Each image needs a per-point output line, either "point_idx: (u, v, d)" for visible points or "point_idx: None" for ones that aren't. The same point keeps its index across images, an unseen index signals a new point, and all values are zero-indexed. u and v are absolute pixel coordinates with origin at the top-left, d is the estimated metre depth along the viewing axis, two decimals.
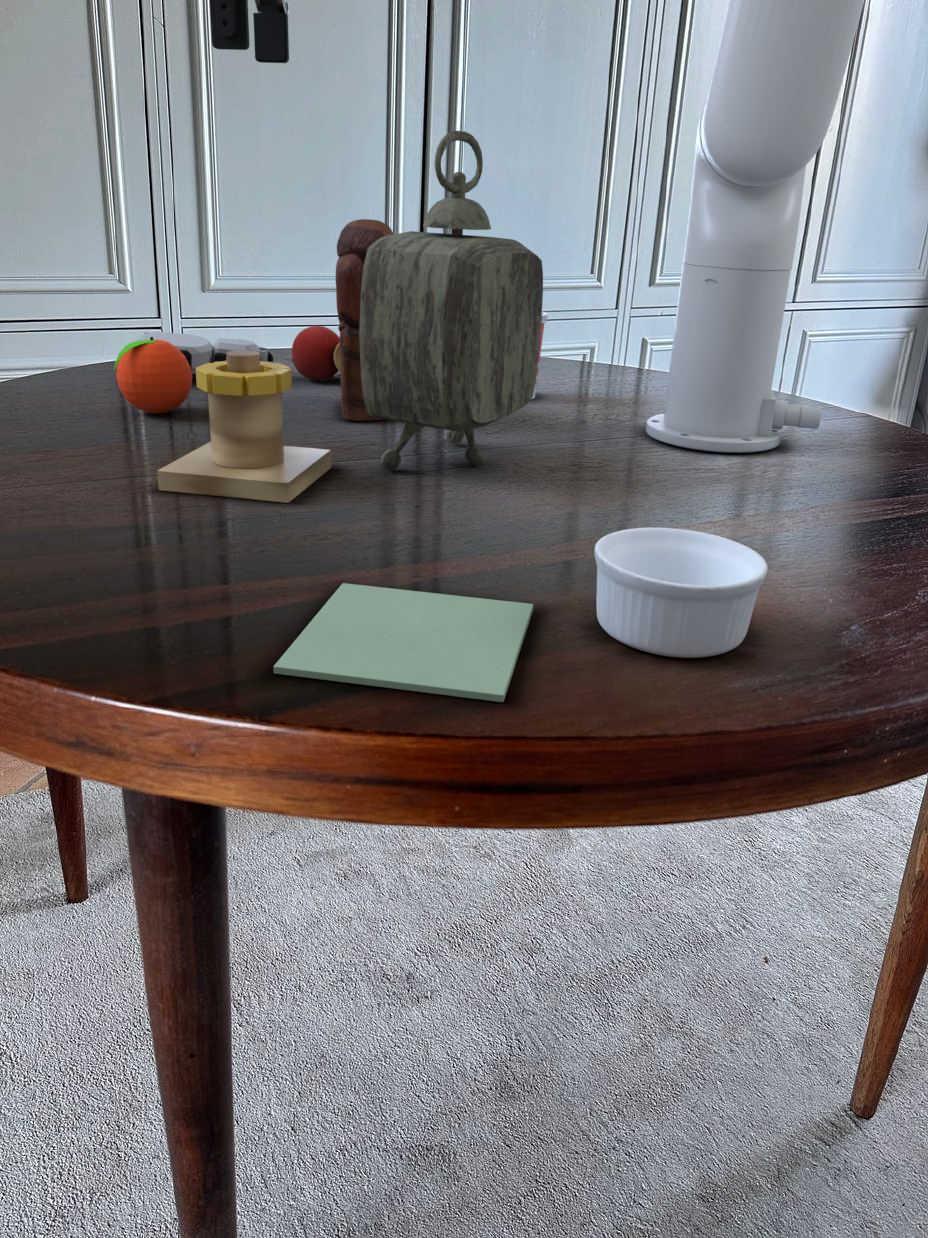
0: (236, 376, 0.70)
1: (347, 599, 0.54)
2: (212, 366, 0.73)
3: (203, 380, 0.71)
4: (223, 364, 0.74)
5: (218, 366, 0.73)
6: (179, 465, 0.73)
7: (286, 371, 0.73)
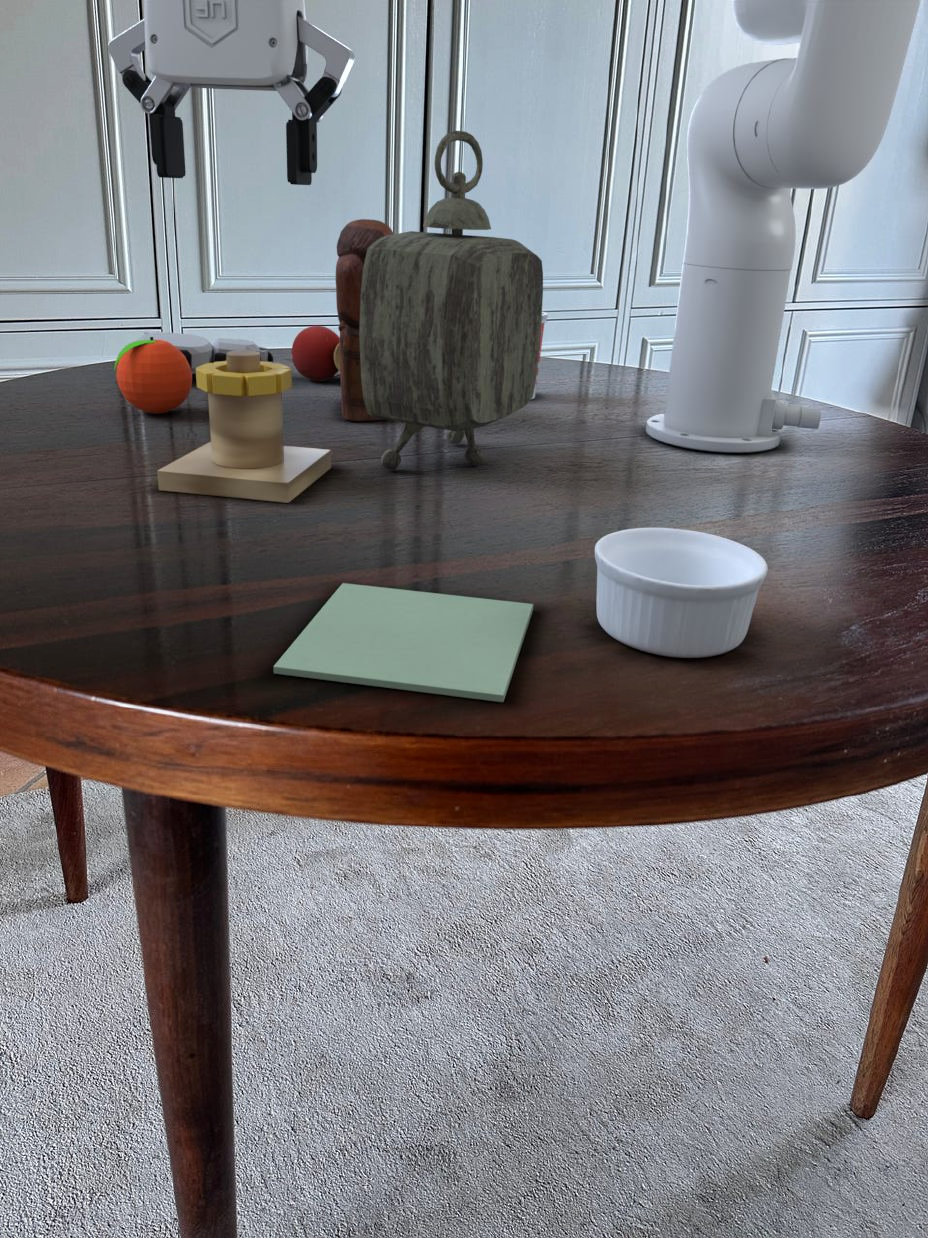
0: (236, 376, 0.70)
1: (347, 599, 0.54)
2: (212, 366, 0.73)
3: (203, 380, 0.71)
4: (223, 364, 0.74)
5: (218, 366, 0.73)
6: (179, 465, 0.73)
7: (286, 371, 0.73)
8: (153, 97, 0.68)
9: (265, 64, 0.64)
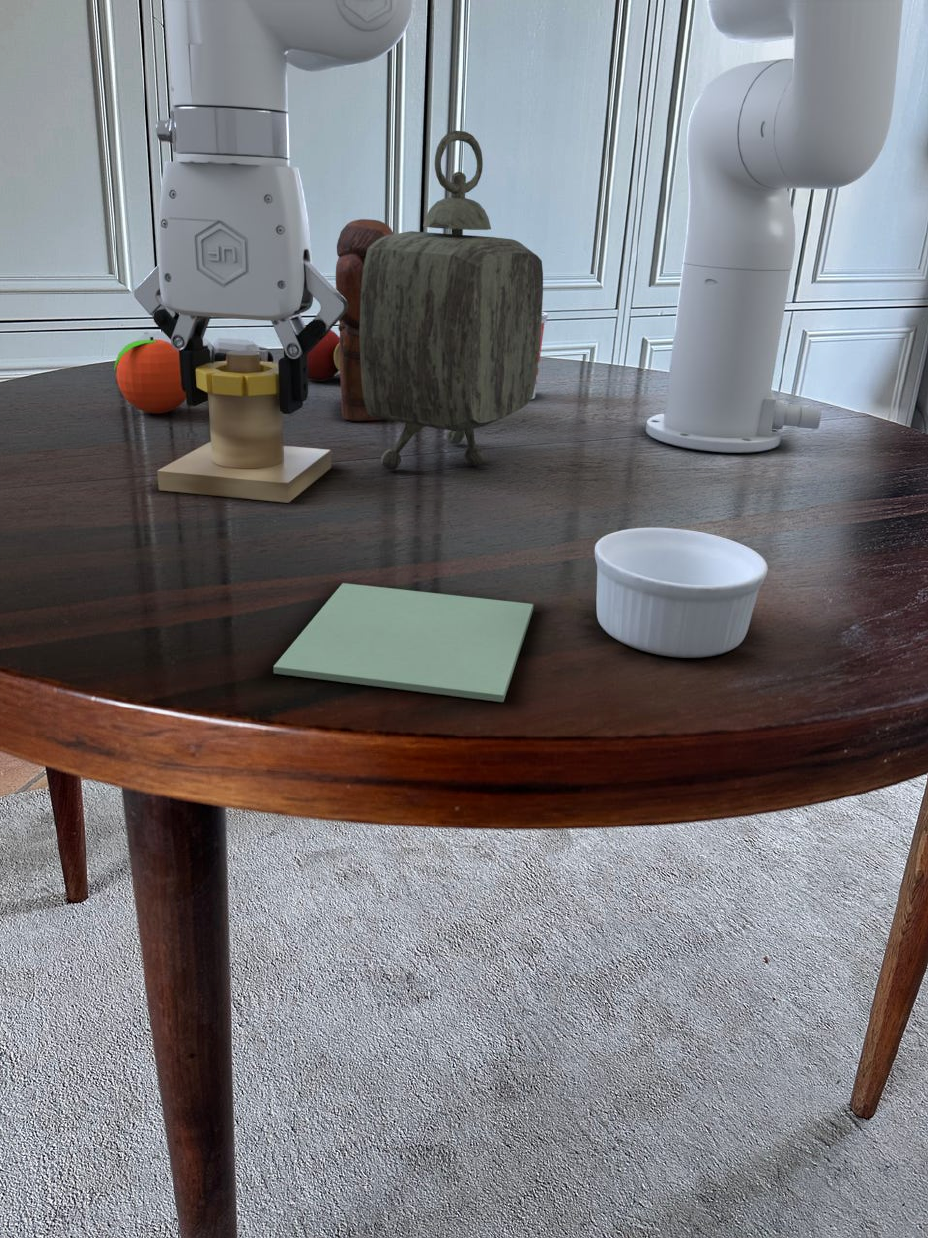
0: (236, 376, 0.70)
1: (347, 599, 0.54)
2: (212, 366, 0.73)
3: (203, 380, 0.71)
4: (223, 364, 0.74)
5: (218, 366, 0.73)
6: (179, 465, 0.73)
7: None
8: (182, 335, 0.71)
9: (274, 303, 0.68)
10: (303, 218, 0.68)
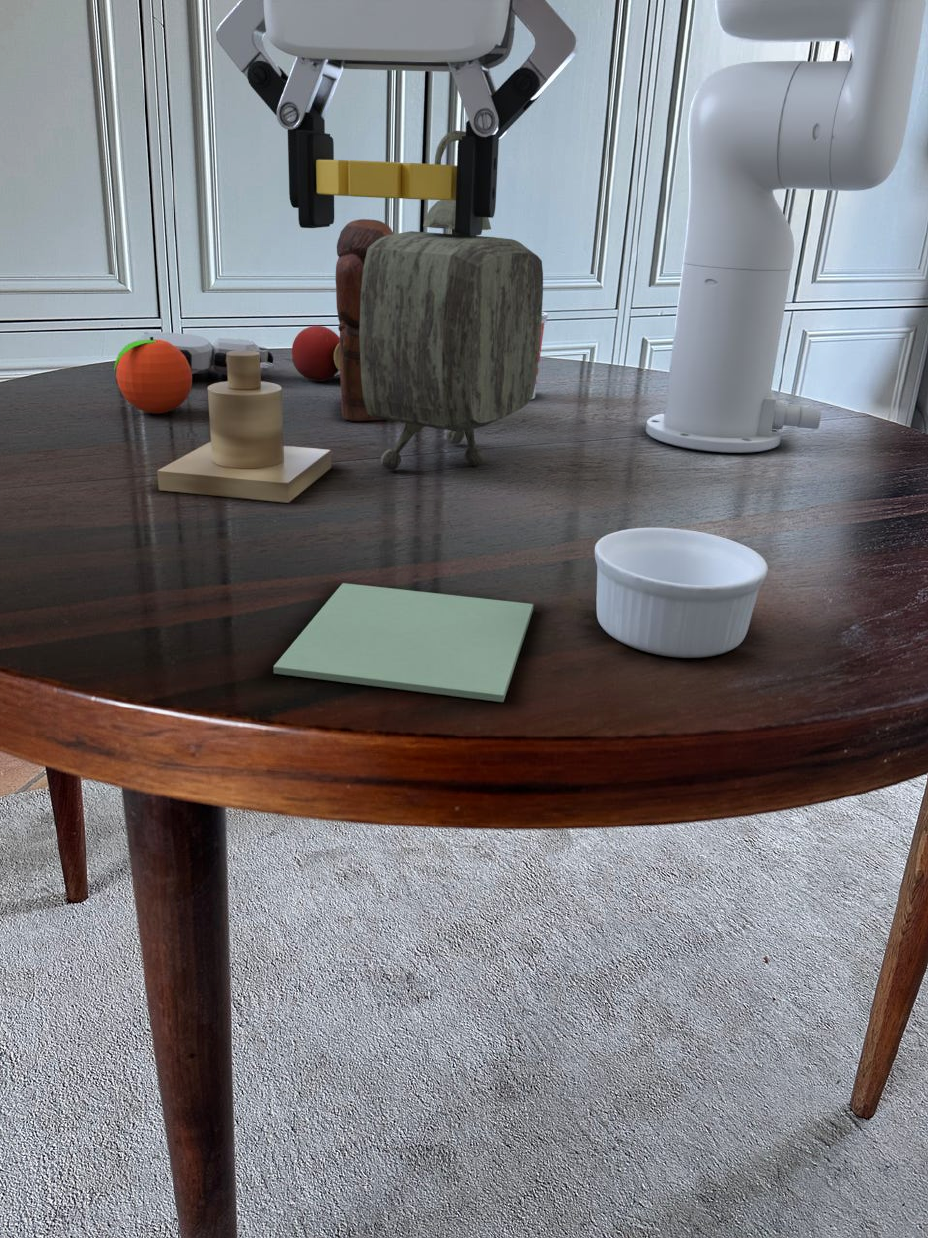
0: (390, 162, 0.42)
1: (347, 599, 0.54)
2: None
3: (331, 175, 0.43)
4: None
5: None
6: (179, 465, 0.73)
7: None
8: (295, 102, 0.43)
9: (464, 26, 0.39)
10: None
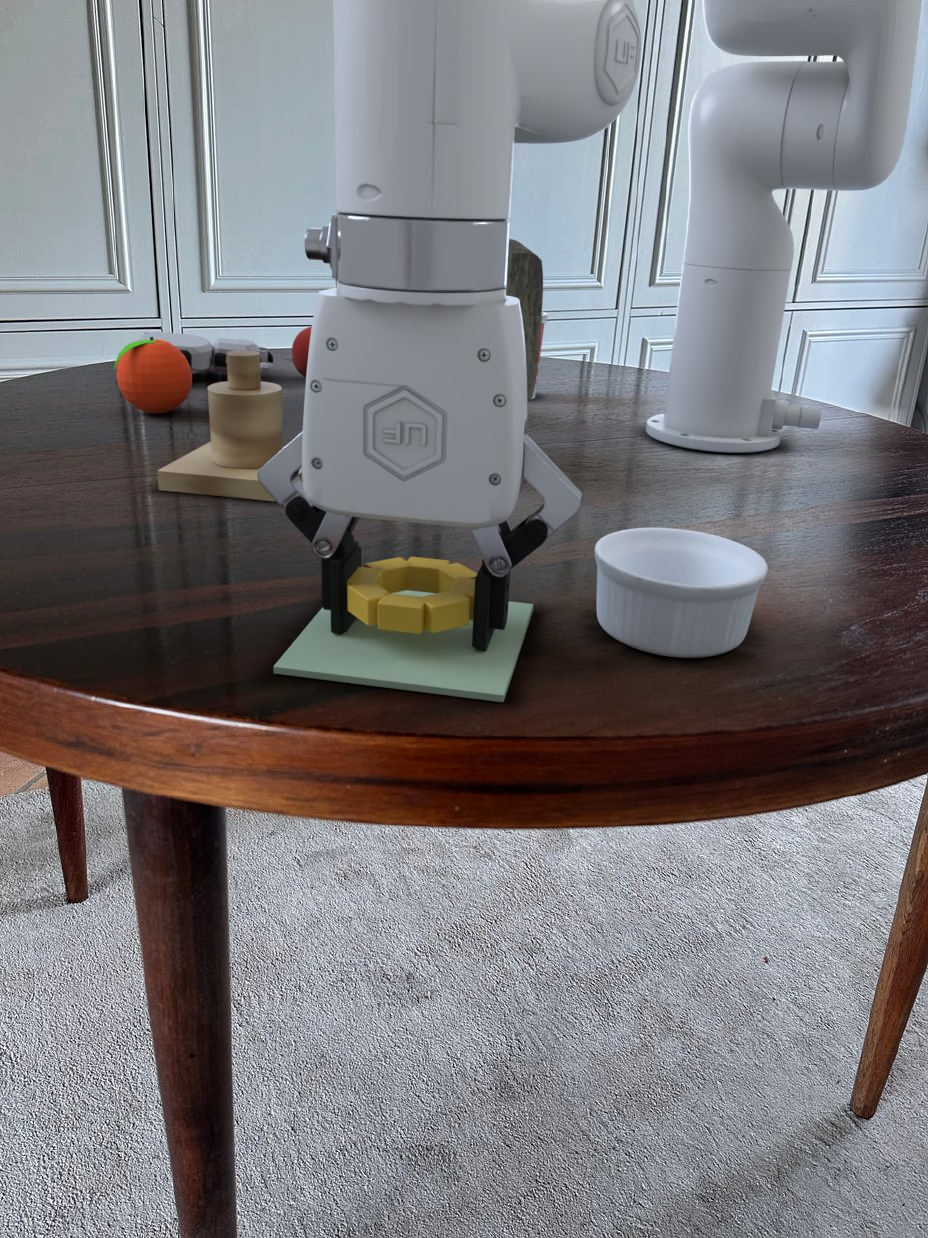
0: (415, 606, 0.47)
1: None
2: (369, 577, 0.50)
3: (361, 607, 0.48)
4: (381, 570, 0.51)
5: (377, 576, 0.50)
6: (179, 465, 0.73)
7: None
8: (329, 538, 0.48)
9: (481, 506, 0.44)
10: (525, 375, 0.45)
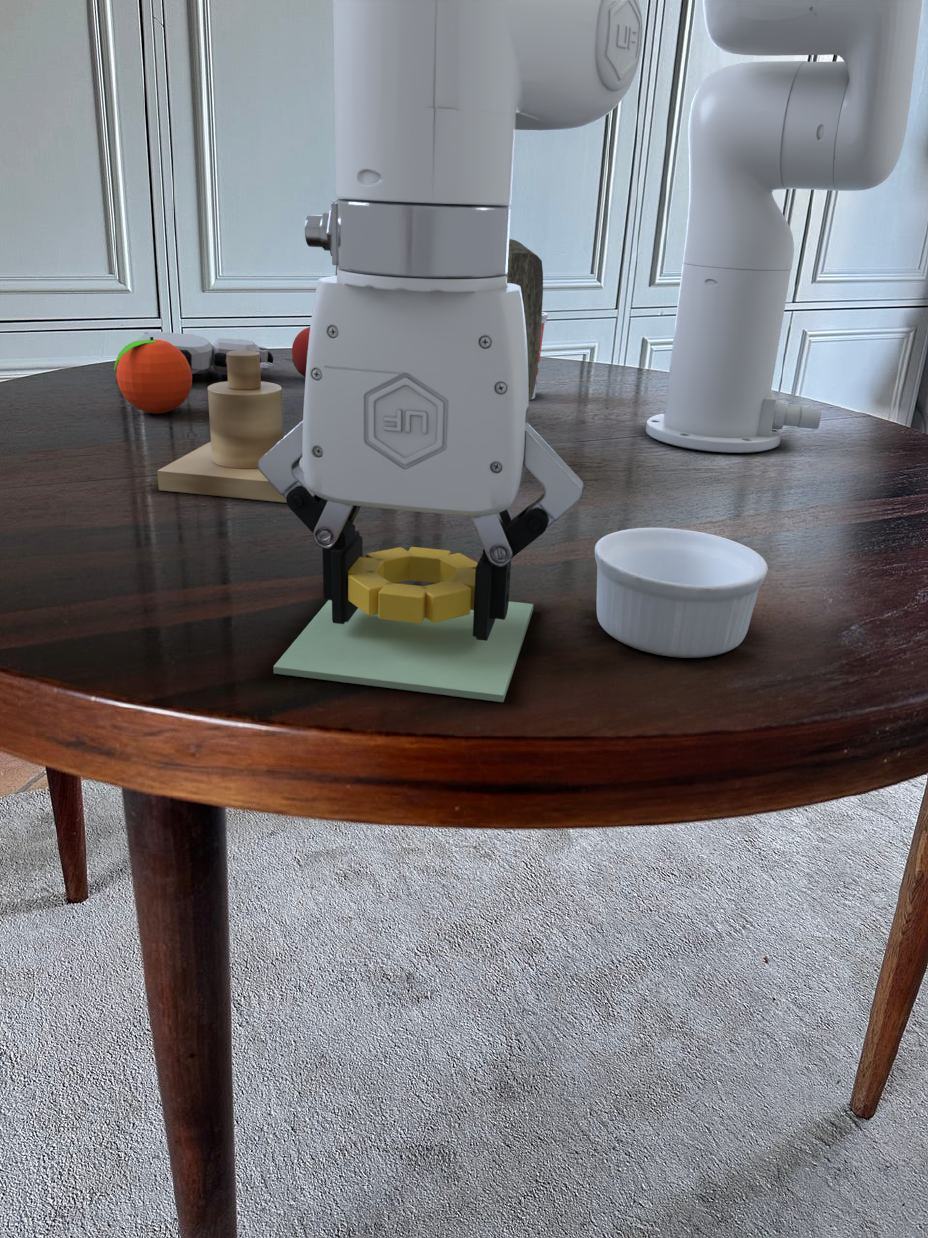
0: (416, 596, 0.46)
1: None
2: (369, 567, 0.49)
3: (362, 596, 0.48)
4: (382, 560, 0.51)
5: (377, 566, 0.50)
6: (179, 465, 0.73)
7: None
8: (330, 527, 0.48)
9: (483, 494, 0.44)
10: (526, 363, 0.44)
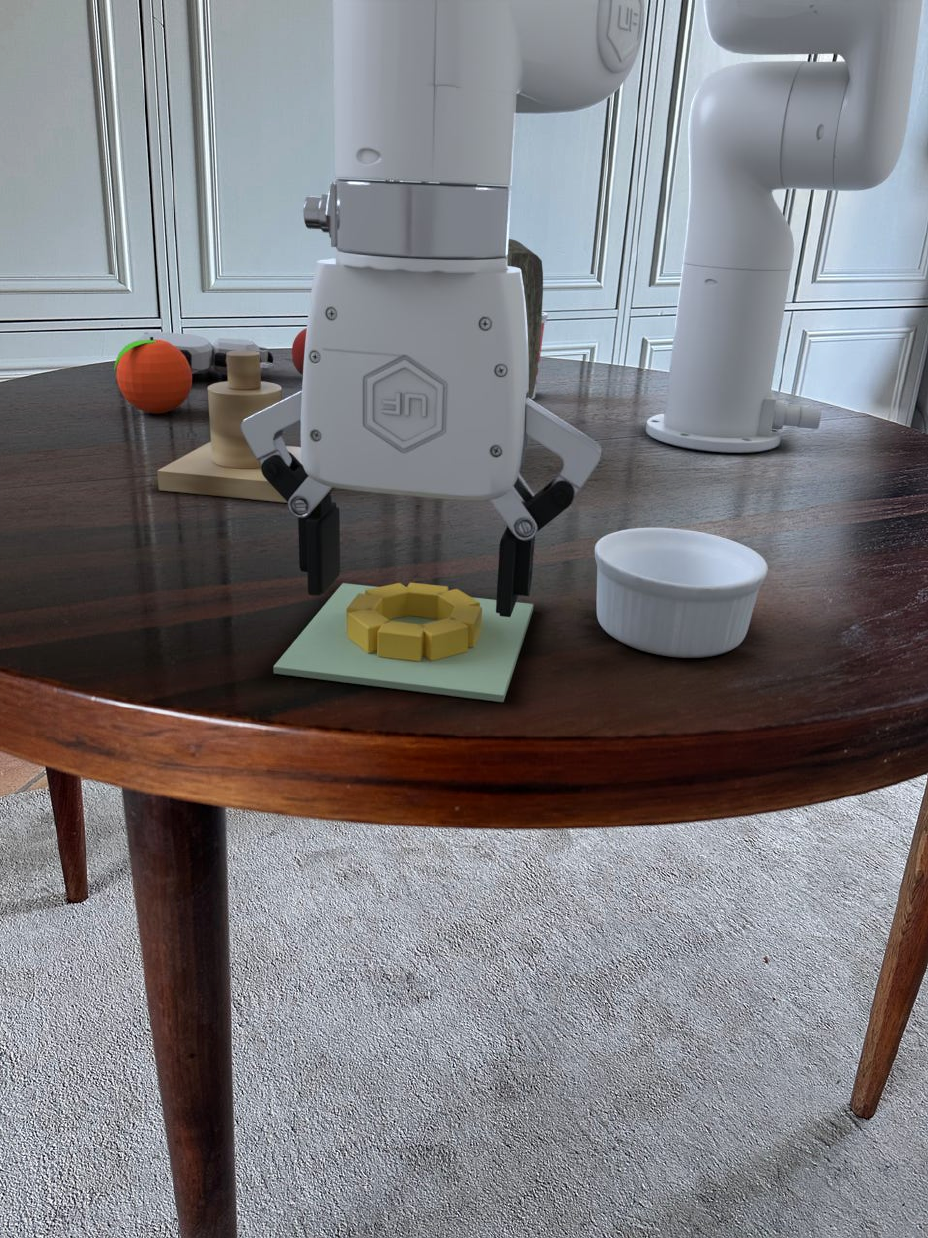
0: (414, 635, 0.47)
1: (347, 599, 0.54)
2: (368, 604, 0.50)
3: (361, 634, 0.48)
4: (381, 597, 0.51)
5: (377, 603, 0.50)
6: (179, 465, 0.73)
7: (478, 614, 0.50)
8: (307, 499, 0.47)
9: (482, 479, 0.44)
10: (527, 346, 0.44)
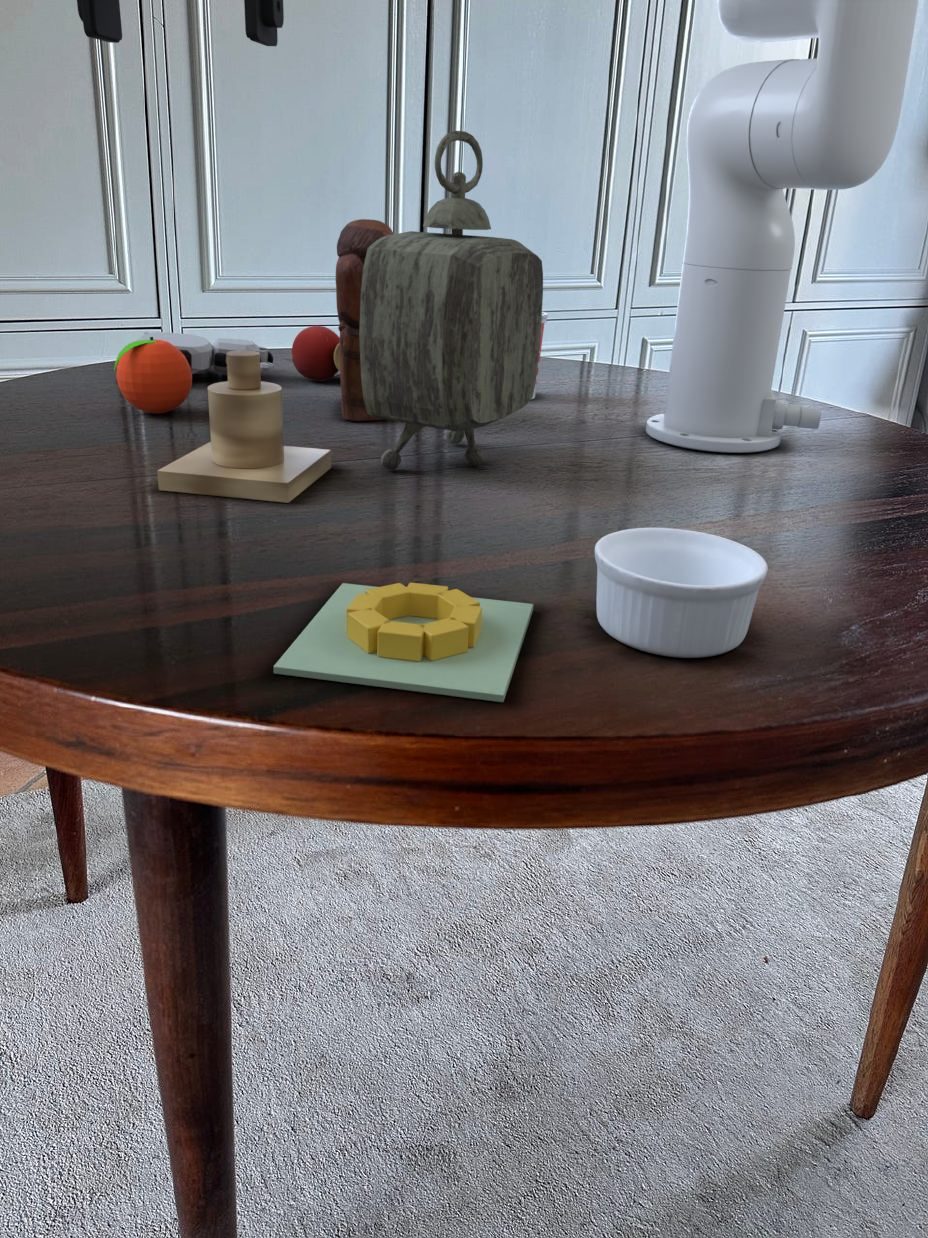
0: (414, 635, 0.47)
1: (347, 599, 0.54)
2: (368, 604, 0.50)
3: (361, 634, 0.48)
4: (381, 597, 0.51)
5: (377, 603, 0.50)
6: (179, 465, 0.73)
7: (478, 614, 0.50)
8: None
9: None
10: None
